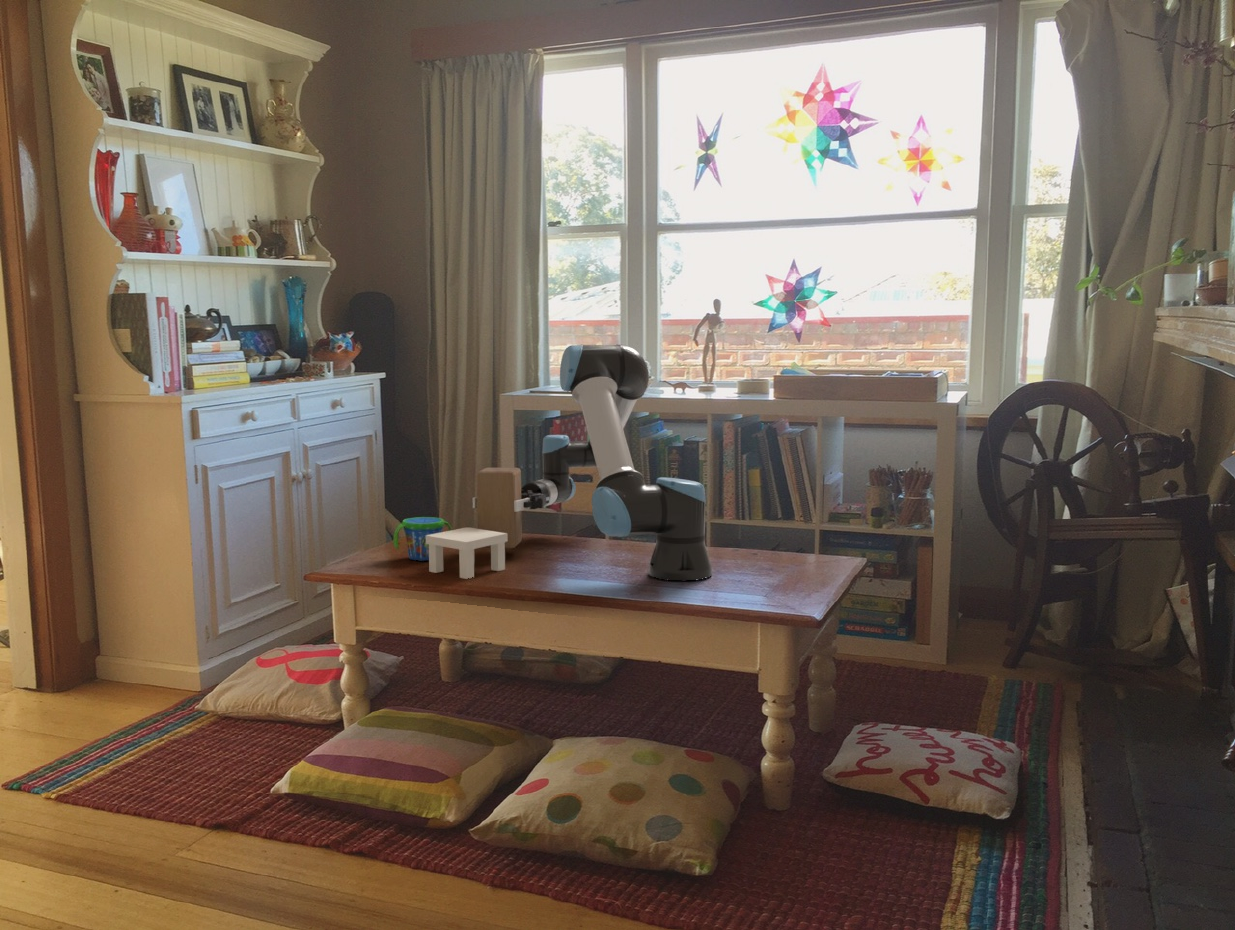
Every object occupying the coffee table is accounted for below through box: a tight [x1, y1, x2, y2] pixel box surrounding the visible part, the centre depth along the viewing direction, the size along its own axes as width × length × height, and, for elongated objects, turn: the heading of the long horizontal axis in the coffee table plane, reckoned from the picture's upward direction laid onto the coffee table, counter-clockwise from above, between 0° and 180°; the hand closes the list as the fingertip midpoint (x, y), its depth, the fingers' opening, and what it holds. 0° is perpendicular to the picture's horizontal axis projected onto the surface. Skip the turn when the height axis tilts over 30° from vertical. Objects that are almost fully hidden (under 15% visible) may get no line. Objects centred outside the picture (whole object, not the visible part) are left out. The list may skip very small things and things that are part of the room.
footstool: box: [426, 526, 508, 580], centre depth 251 cm, size 14×14×9 cm
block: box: [476, 467, 523, 549], centre depth 268 cm, size 10×10×20 cm
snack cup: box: [392, 516, 453, 562], centre depth 264 cm, size 16×10×10 cm
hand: (494, 504), depth 265 cm, fingers closed on block, 12 cm apart
